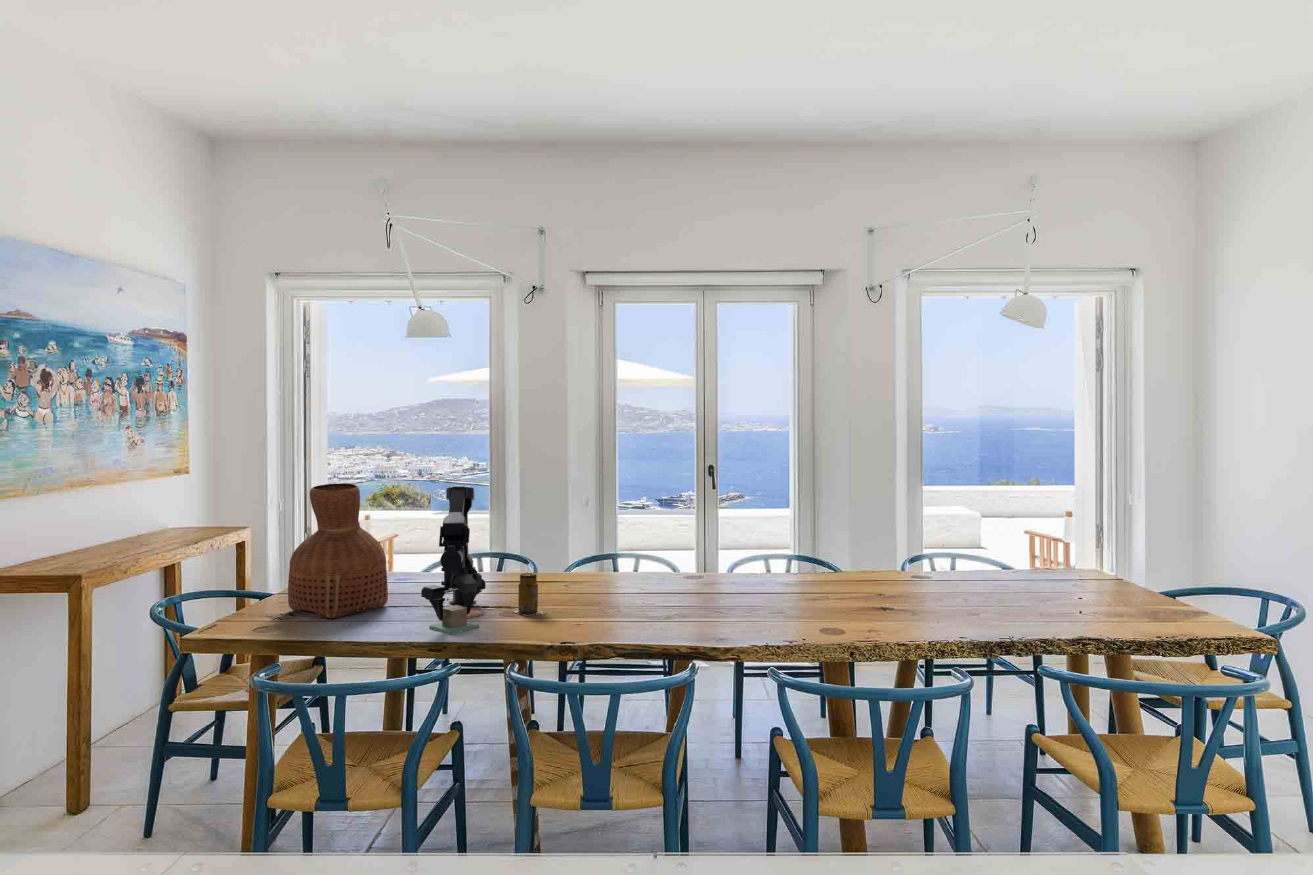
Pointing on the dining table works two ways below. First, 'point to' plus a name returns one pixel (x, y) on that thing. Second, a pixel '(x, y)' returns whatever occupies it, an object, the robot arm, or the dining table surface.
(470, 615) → the mat terracotta
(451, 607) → the brown cube
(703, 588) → the dining table surface
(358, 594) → the basket
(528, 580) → the condiment
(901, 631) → the dining table surface
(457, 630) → the mat green
